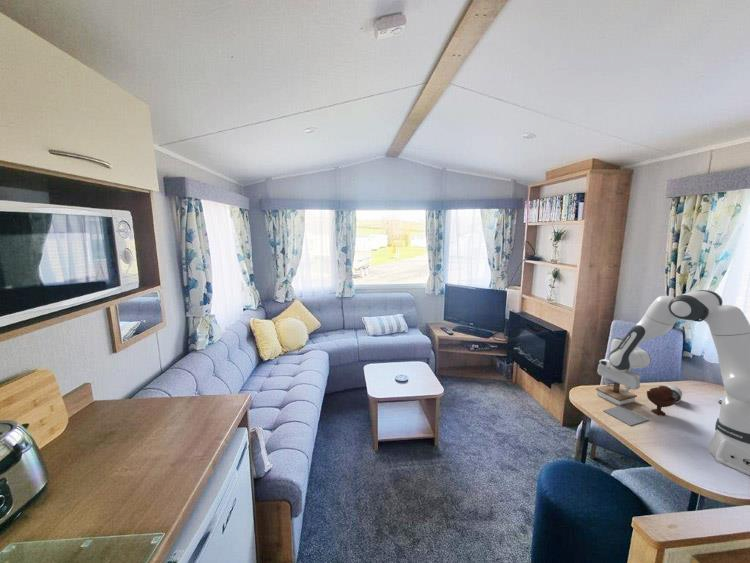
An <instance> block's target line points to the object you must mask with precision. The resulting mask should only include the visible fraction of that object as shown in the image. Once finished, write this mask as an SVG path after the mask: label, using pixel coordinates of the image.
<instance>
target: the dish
mask: <svg viewBox="0 0 750 563" xmlns="http://www.w3.org/2000/svg"><path fill="white" fill-rule="evenodd" d="M596 395H597V396H599V397H601V398H603V399H604V400H606V401H607V402H611V403H613V404H615V405H617V406H624V405H629V404H632V403H635V401H636V397H635V398H631V399H627V400H624V401H618V400H616V399H614V398H612V397H610V396H608V395H606V394H604V393H602V392H600V391H598V390H596Z"/></svg>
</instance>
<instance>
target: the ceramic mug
mask: <svg viewBox="0 0 750 563" xmlns="http://www.w3.org/2000/svg"><path fill="white" fill-rule="evenodd" d="M667 387H669V388H670V389H671V390H672V391H673V397H674V398H675V400H676V401H675V403H674V404H678V403H679V402H680V401H681V400H682V397H683V391H682V390H681V388H679V387H677V386H675V385H667Z"/></svg>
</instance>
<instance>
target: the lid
mask: <svg viewBox="0 0 750 563" xmlns="http://www.w3.org/2000/svg"><path fill="white" fill-rule="evenodd" d="M620 386H621V384H619V383H617V382H615V381H613V384H610V385H609V386H608V385H604V386H600V387H596V388H595V390H596V391H597V390H598V391H600V392H602V393H604V394H606V395H608V396H610V397H612V398H614V399H616V400H618V401H624V400H627V399H631V398H635V399H636V398H637V397H638V395H636V394H635V393H633V392H630V391H628V394H625V393H623V390H625V388H624V389H623V388H622V387H620Z"/></svg>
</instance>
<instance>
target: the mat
mask: <svg viewBox="0 0 750 563" xmlns="http://www.w3.org/2000/svg"><path fill="white" fill-rule="evenodd" d="M602 411H603V413H606V414H607V415H609V416H611V417H613V418H615V419H616V420H618V421H621V422H622V423H624V424H626V425H627V426H629V427H633V426H634V425H639V424H641V423H646V422H648V421H649V418H647V417H644V416H642V415H641V414H638V413H636V412H634V411H633V410H631V409H628V408H626V407H625V406H624V405H621V406H618V405H617V406H614V407H610V408H608V409H603V410H602Z"/></svg>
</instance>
